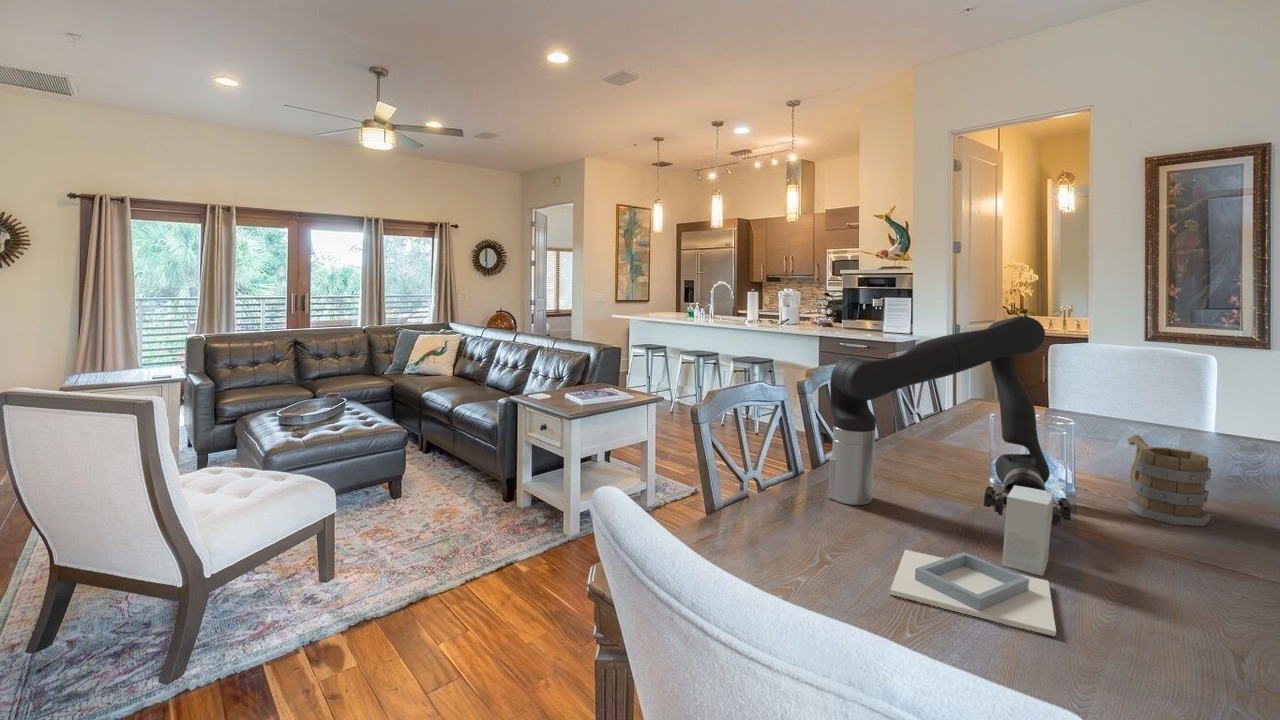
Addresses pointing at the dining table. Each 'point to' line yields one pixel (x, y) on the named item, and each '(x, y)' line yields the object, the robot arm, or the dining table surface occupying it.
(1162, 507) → the tankard
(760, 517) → the dining table surface
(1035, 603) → the jig cradle
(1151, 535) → the dining table surface
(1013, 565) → the small box
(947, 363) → the robot arm
